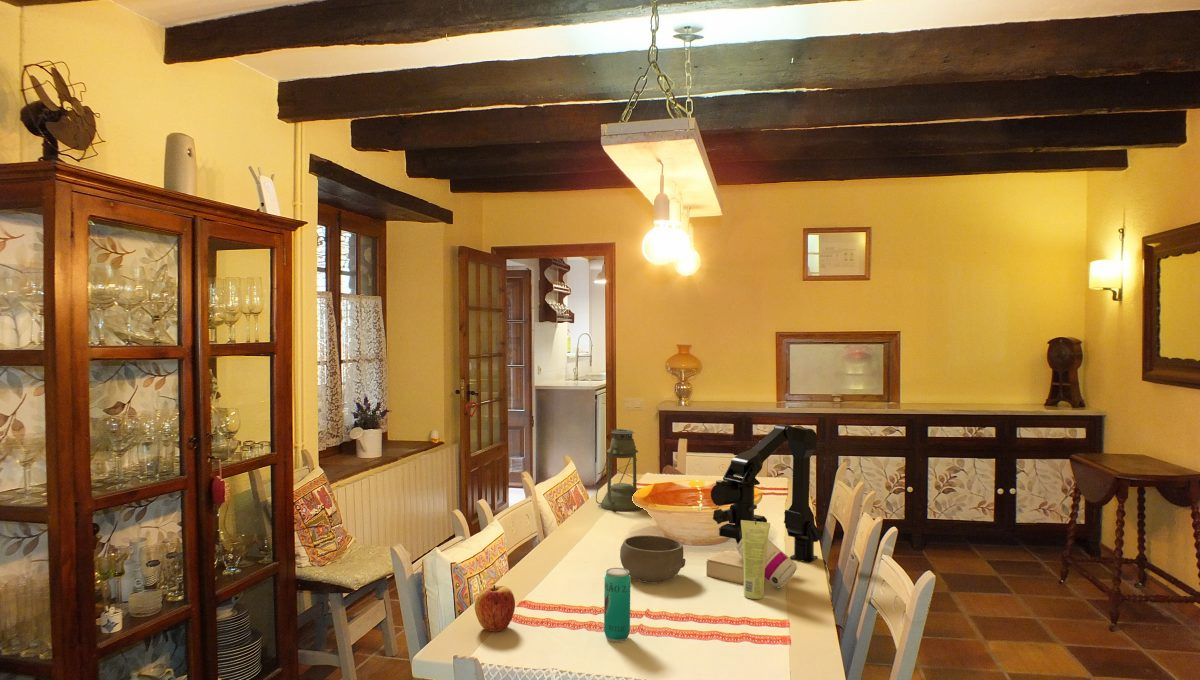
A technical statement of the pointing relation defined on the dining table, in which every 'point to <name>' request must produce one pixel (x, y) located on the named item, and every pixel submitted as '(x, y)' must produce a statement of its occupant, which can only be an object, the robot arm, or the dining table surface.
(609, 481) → the lantern
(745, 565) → the tube
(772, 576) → the supplement can
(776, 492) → the dining table surface
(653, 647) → the dining table surface
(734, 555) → the flap
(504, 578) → the dining table surface
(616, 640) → the beverage can
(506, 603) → the apple
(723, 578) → the carton
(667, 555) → the bowl
